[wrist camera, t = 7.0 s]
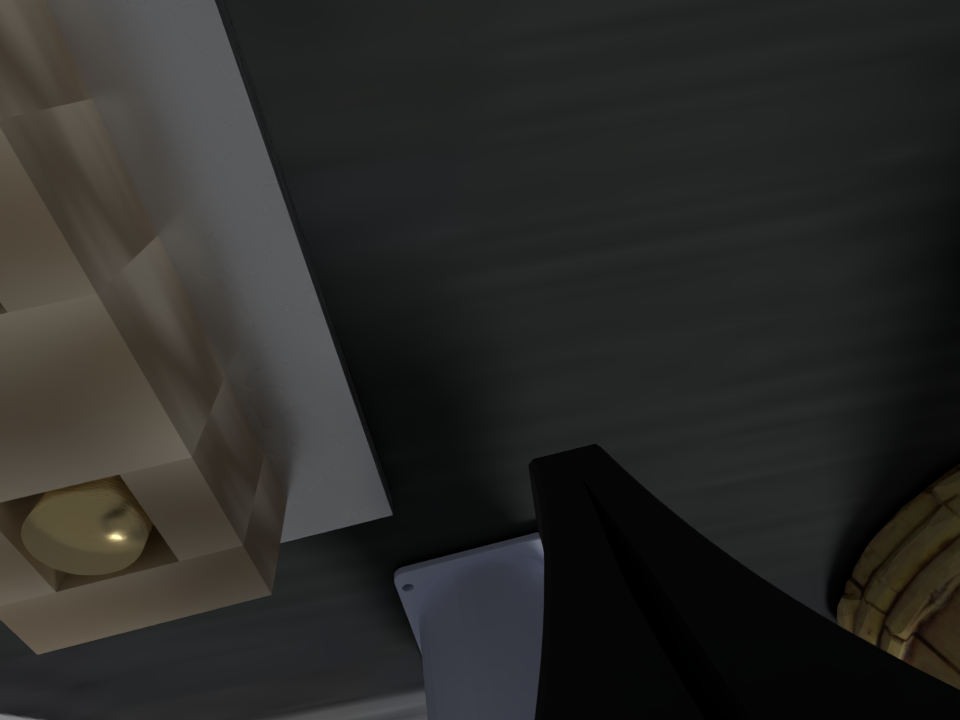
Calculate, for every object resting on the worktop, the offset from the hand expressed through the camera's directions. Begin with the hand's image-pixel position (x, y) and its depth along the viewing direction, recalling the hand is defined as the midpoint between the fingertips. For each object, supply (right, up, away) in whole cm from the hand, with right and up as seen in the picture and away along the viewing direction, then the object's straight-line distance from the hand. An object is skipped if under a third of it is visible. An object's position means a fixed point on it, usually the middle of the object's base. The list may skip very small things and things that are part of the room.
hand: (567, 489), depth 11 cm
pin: (-13, 0, +7) cm, 15 cm away
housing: (-14, +4, +6) cm, 15 cm away
